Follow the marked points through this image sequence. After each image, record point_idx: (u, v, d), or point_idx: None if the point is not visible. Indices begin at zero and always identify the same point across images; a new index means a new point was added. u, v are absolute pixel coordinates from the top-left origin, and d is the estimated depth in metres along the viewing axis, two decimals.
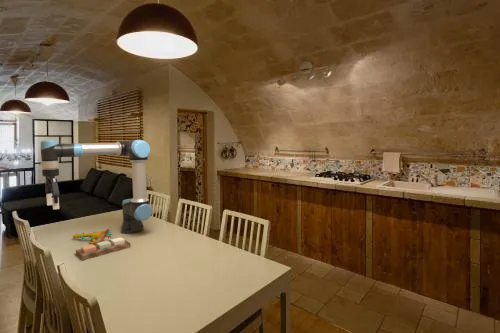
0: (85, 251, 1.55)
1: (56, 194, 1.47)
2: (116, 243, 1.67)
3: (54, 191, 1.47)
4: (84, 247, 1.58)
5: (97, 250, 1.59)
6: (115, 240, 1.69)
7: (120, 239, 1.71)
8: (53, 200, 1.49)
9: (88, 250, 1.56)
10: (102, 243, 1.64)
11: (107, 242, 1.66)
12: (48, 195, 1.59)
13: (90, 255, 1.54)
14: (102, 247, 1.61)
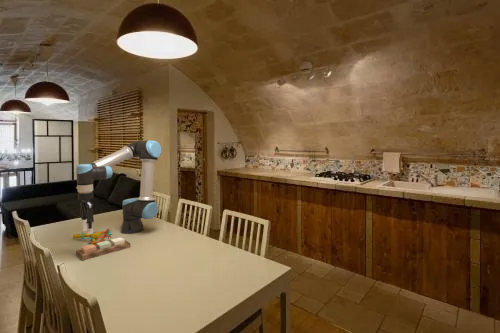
0: (85, 251, 1.55)
1: (91, 220, 1.52)
2: (116, 243, 1.67)
3: (89, 217, 1.52)
4: (84, 247, 1.58)
5: (97, 250, 1.59)
6: (115, 240, 1.69)
7: (120, 239, 1.71)
8: (87, 225, 1.54)
9: (88, 250, 1.56)
10: (102, 243, 1.64)
11: (107, 242, 1.66)
12: (84, 221, 1.59)
13: (90, 255, 1.54)
14: (102, 247, 1.61)
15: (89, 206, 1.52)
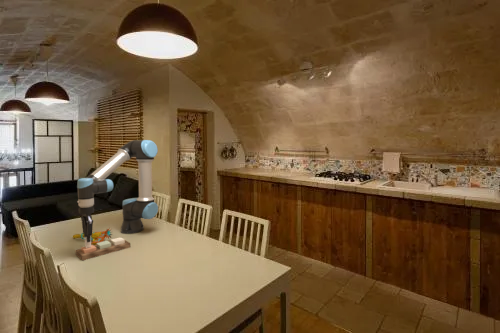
0: (85, 252, 1.55)
1: (89, 234, 1.55)
2: (116, 243, 1.67)
3: (88, 232, 1.54)
4: (84, 248, 1.58)
5: (97, 250, 1.59)
6: (115, 240, 1.69)
7: (120, 239, 1.71)
8: (86, 239, 1.57)
9: (88, 250, 1.56)
10: (102, 243, 1.64)
11: (107, 242, 1.66)
12: None
13: (90, 255, 1.54)
14: (102, 247, 1.61)
15: (89, 222, 1.53)
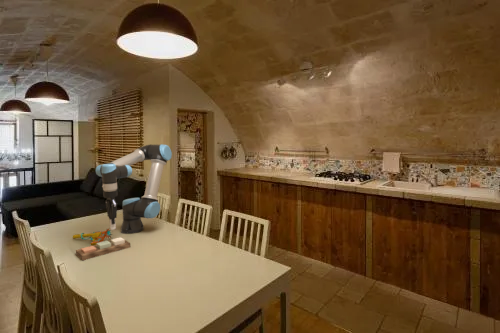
0: None
1: (114, 217, 1.65)
2: (116, 243, 1.67)
3: (113, 214, 1.64)
4: (84, 249, 1.58)
5: (97, 250, 1.59)
6: (115, 240, 1.69)
7: (120, 239, 1.71)
8: (111, 221, 1.66)
9: (88, 251, 1.56)
10: (102, 243, 1.64)
11: (107, 242, 1.66)
12: None
13: (90, 255, 1.54)
14: (102, 247, 1.61)
15: (114, 205, 1.62)
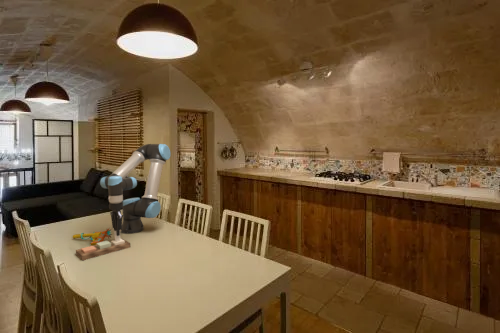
0: None
1: (119, 228, 1.67)
2: (116, 244, 1.67)
3: (118, 226, 1.66)
4: (84, 249, 1.58)
5: (97, 250, 1.59)
6: (115, 241, 1.69)
7: (120, 240, 1.71)
8: (115, 233, 1.69)
9: (88, 251, 1.56)
10: (102, 243, 1.64)
11: (107, 242, 1.66)
12: None
13: (90, 255, 1.54)
14: (102, 247, 1.61)
15: (119, 217, 1.65)
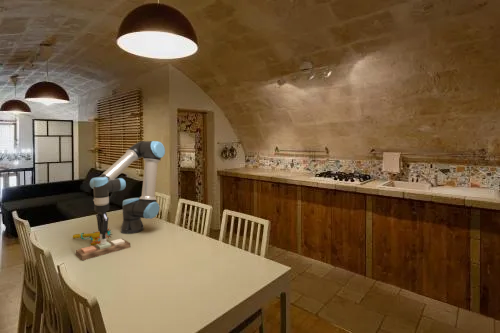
0: None
1: (105, 231, 1.61)
2: (116, 244, 1.67)
3: (104, 229, 1.60)
4: (84, 249, 1.58)
5: (97, 250, 1.59)
6: (115, 241, 1.69)
7: (120, 240, 1.71)
8: (101, 236, 1.63)
9: (88, 251, 1.56)
10: None
11: (107, 243, 1.66)
12: None
13: (90, 255, 1.54)
14: (102, 248, 1.61)
15: (105, 220, 1.59)
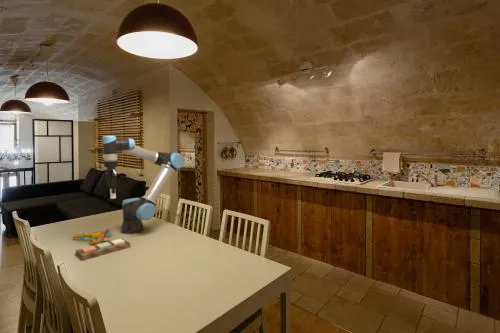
0: None
1: (114, 186, 1.73)
2: (116, 244, 1.67)
3: (113, 183, 1.72)
4: (84, 249, 1.58)
5: (97, 250, 1.59)
6: (115, 241, 1.69)
7: (120, 240, 1.71)
8: (111, 191, 1.74)
9: (88, 251, 1.56)
10: (102, 244, 1.64)
11: (107, 243, 1.66)
12: None
13: (90, 255, 1.54)
14: None
15: (115, 174, 1.70)
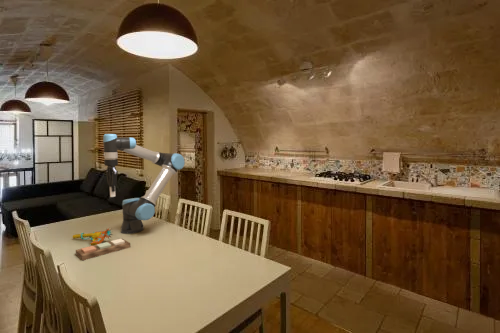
0: None
1: (114, 184, 1.73)
2: (116, 244, 1.67)
3: (113, 182, 1.72)
4: (84, 249, 1.58)
5: (97, 250, 1.59)
6: (115, 241, 1.69)
7: (120, 240, 1.71)
8: (111, 189, 1.75)
9: (88, 251, 1.56)
10: (102, 244, 1.64)
11: (107, 243, 1.66)
12: None
13: (90, 255, 1.54)
14: None
15: (114, 172, 1.71)
